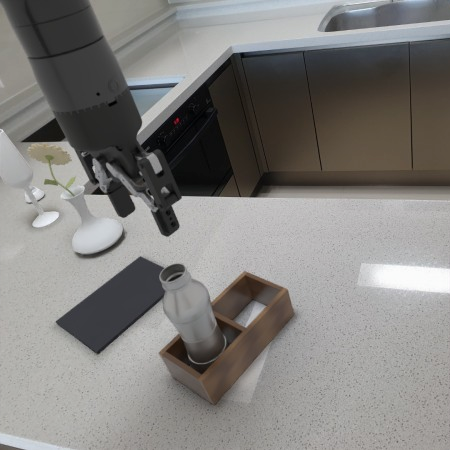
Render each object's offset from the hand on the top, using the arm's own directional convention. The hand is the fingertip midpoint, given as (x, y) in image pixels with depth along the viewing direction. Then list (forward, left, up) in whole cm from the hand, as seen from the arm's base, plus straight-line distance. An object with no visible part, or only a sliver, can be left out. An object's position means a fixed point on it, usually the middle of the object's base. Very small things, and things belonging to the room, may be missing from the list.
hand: (149, 222), depth 55 cm
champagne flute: (+9, +72, -29) cm, 78 cm away
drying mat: (+1, +27, -28) cm, 39 cm away
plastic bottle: (0, 0, -28) cm, 29 cm away
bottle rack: (+5, 0, -28) cm, 29 cm away
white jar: (+13, +86, -29) cm, 91 cm away
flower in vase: (+10, +49, -28) cm, 58 cm away
